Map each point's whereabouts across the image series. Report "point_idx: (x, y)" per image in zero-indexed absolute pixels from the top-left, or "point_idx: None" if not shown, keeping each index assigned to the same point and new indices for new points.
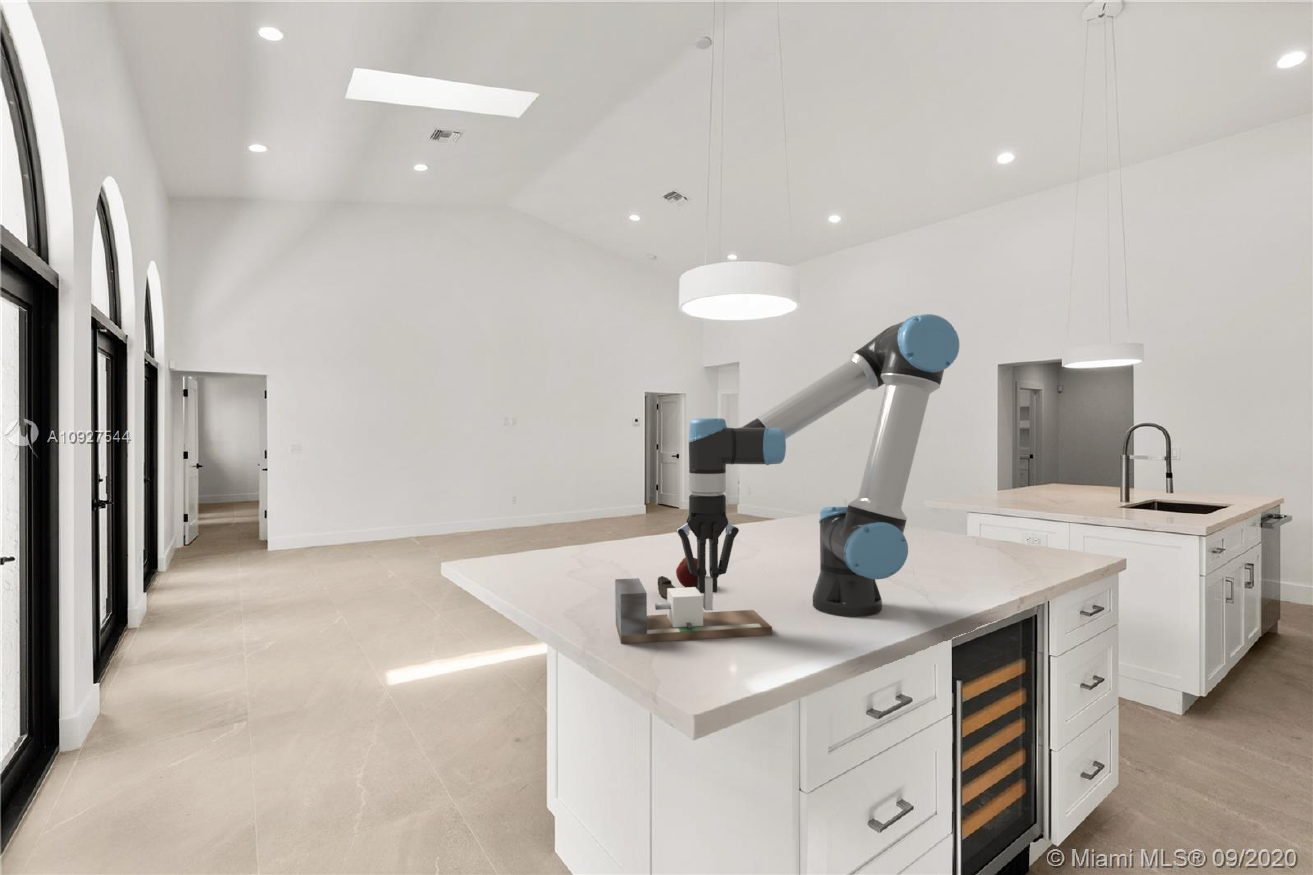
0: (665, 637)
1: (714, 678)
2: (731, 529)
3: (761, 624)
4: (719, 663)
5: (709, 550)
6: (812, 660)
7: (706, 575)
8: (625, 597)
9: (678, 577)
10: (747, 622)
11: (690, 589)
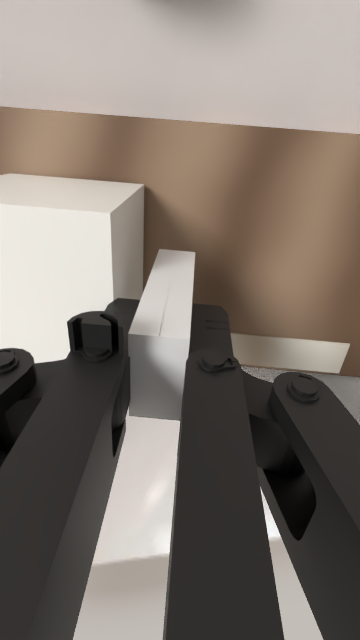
0: None
1: (109, 512)
2: None
3: (356, 349)
4: (135, 472)
5: (166, 633)
6: None
7: (161, 342)
8: None
9: None
10: (322, 317)
11: (66, 268)
